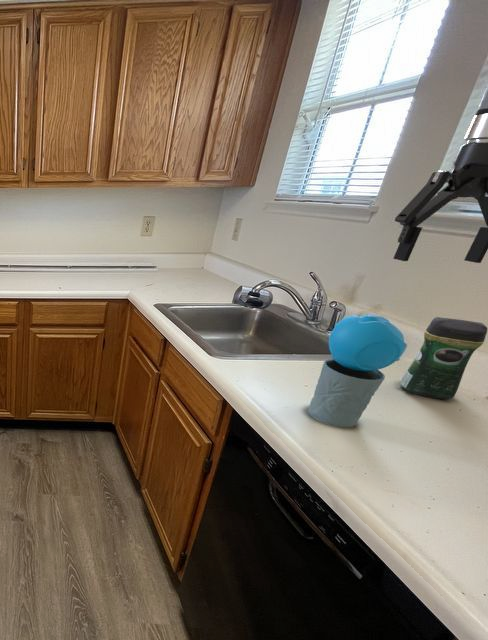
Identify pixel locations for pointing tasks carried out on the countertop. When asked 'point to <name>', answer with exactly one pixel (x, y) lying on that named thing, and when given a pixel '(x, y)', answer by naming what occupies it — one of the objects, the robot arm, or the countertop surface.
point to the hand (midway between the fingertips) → (435, 261)
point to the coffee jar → (443, 357)
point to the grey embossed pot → (343, 394)
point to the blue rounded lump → (366, 343)
